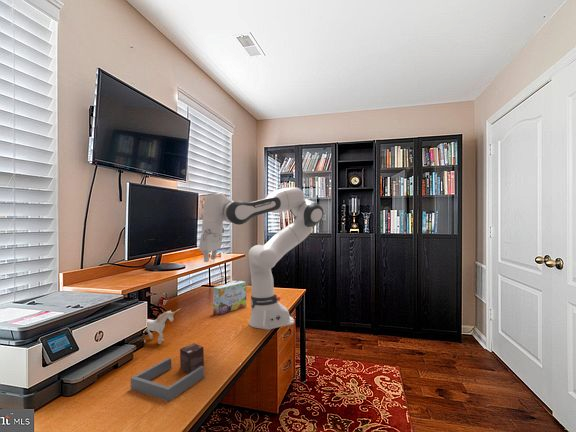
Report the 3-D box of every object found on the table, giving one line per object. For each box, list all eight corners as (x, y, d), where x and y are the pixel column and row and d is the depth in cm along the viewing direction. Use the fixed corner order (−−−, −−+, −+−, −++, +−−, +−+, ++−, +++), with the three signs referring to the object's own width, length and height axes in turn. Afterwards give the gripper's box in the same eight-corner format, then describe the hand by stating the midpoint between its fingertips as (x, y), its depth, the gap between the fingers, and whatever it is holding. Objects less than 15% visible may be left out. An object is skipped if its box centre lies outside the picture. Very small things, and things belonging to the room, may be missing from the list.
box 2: (194, 362, 114) (194, 342, 114) (204, 367, 110) (204, 346, 110) (179, 369, 110) (179, 348, 110) (189, 374, 106) (189, 353, 106)
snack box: (219, 315, 169) (219, 288, 169) (212, 313, 172) (212, 286, 172) (247, 306, 186) (246, 281, 186) (240, 304, 189) (240, 280, 189)
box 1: (168, 367, 111) (168, 357, 111) (204, 376, 104) (204, 366, 104) (130, 389, 97) (130, 377, 97) (168, 401, 90) (168, 389, 90)
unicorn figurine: (177, 344, 132) (176, 312, 132) (130, 346, 130) (129, 314, 130) (182, 337, 139) (181, 307, 139) (137, 339, 138) (137, 309, 138)
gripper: (211, 230, 125) (209, 264, 125) (225, 229, 146) (223, 258, 145) (196, 229, 126) (194, 263, 125) (212, 228, 146) (209, 257, 146)
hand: (209, 260), depth 136 cm, fingers open, 8 cm apart
